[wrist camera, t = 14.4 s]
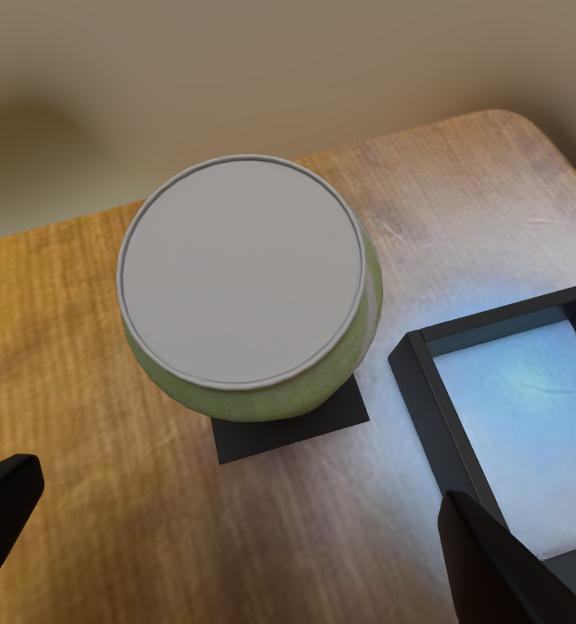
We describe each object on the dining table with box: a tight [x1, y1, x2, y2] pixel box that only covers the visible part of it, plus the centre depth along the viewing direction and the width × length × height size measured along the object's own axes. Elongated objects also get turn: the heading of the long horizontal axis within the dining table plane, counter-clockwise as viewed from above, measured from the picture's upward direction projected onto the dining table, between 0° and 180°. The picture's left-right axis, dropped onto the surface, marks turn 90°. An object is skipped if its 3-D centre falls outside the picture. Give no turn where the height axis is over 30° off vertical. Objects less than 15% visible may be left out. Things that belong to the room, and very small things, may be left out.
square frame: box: [388, 286, 576, 594], centre depth 16 cm, size 10×10×4 cm
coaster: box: [211, 373, 370, 464], centre depth 19 cm, size 7×7×1 cm
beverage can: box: [116, 154, 383, 422], centre depth 13 cm, size 6×7×12 cm
